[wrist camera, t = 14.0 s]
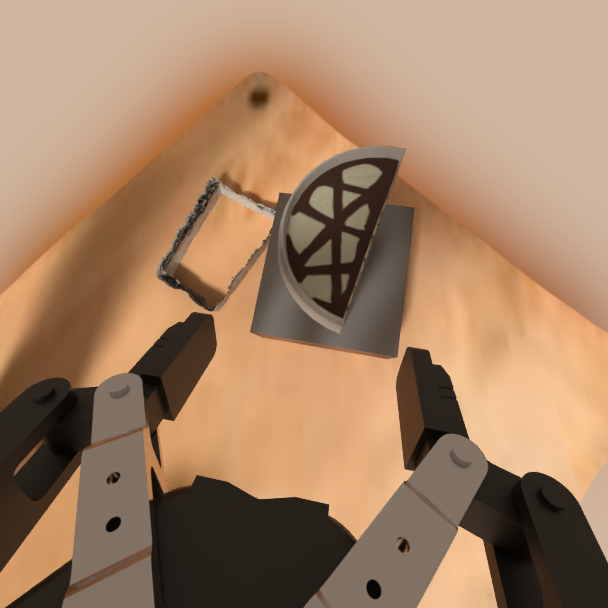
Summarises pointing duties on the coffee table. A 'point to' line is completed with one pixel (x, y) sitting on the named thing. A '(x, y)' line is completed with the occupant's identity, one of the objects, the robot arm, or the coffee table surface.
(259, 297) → the gray stand
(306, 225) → the food container
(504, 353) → the coffee table surface
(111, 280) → the coffee table surface
